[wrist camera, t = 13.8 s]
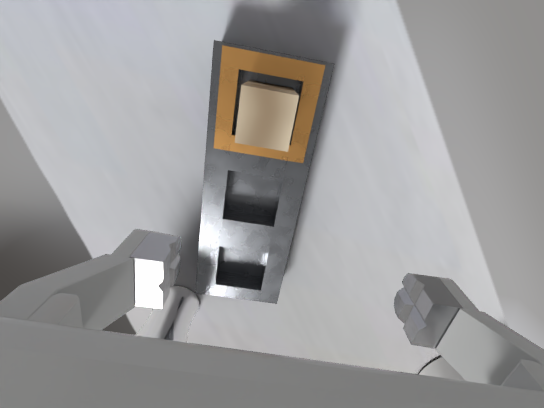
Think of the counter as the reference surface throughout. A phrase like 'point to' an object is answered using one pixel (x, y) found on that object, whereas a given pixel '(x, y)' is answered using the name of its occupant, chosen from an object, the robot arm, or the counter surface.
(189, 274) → the counter surface
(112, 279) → the robot arm
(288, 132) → the beech peg
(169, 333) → the beer glass
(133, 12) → the counter surface
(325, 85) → the socket rail
